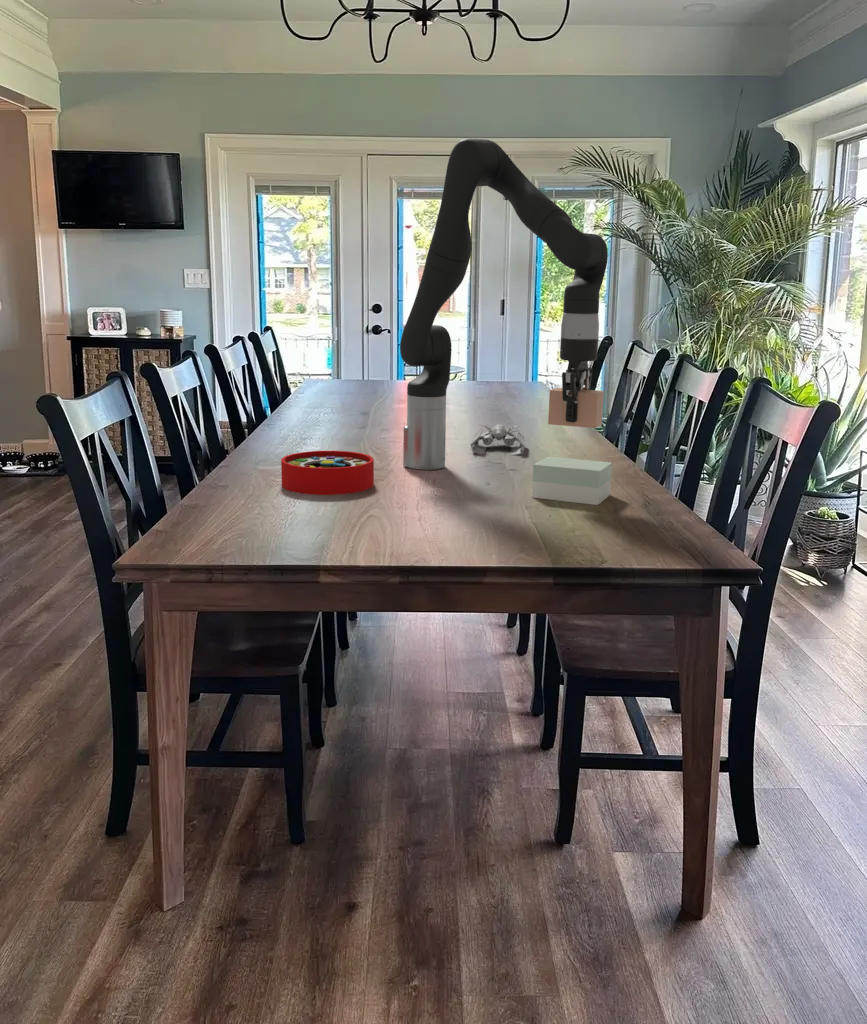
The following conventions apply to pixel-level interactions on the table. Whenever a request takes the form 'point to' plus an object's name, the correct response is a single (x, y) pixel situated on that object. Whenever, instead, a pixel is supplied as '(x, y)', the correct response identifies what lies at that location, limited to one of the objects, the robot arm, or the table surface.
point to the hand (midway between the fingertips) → (575, 419)
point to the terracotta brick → (586, 413)
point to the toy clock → (327, 472)
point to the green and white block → (571, 480)
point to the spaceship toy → (499, 434)
